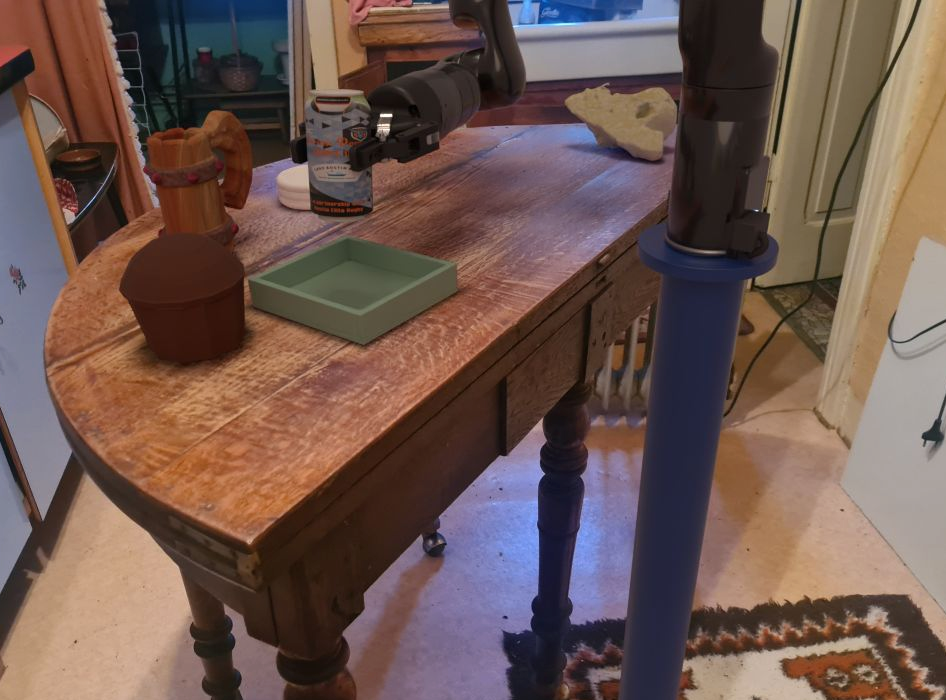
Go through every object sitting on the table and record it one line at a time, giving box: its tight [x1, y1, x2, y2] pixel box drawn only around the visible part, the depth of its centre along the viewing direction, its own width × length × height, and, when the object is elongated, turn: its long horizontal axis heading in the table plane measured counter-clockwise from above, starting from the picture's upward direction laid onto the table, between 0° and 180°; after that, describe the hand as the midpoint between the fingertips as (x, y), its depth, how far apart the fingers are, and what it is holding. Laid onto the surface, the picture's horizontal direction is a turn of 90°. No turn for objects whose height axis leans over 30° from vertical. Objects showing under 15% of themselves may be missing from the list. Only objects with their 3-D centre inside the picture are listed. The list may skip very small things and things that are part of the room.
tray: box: [247, 234, 459, 346], centre depth 88 cm, size 16×15×3 cm
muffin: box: [118, 233, 246, 364], centre depth 79 cm, size 12×11×10 cm
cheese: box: [564, 82, 678, 162], centre depth 129 cm, size 15×7×15 cm
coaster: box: [275, 163, 311, 211], centre depth 115 cm, size 10×10×4 cm
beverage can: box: [304, 88, 374, 223], centre depth 81 cm, size 6×7×12 cm
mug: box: [142, 109, 254, 254], centre depth 97 cm, size 15×8×15 cm, turn 151°
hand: (323, 156), depth 79 cm, fingers closed on beverage can, 6 cm apart
